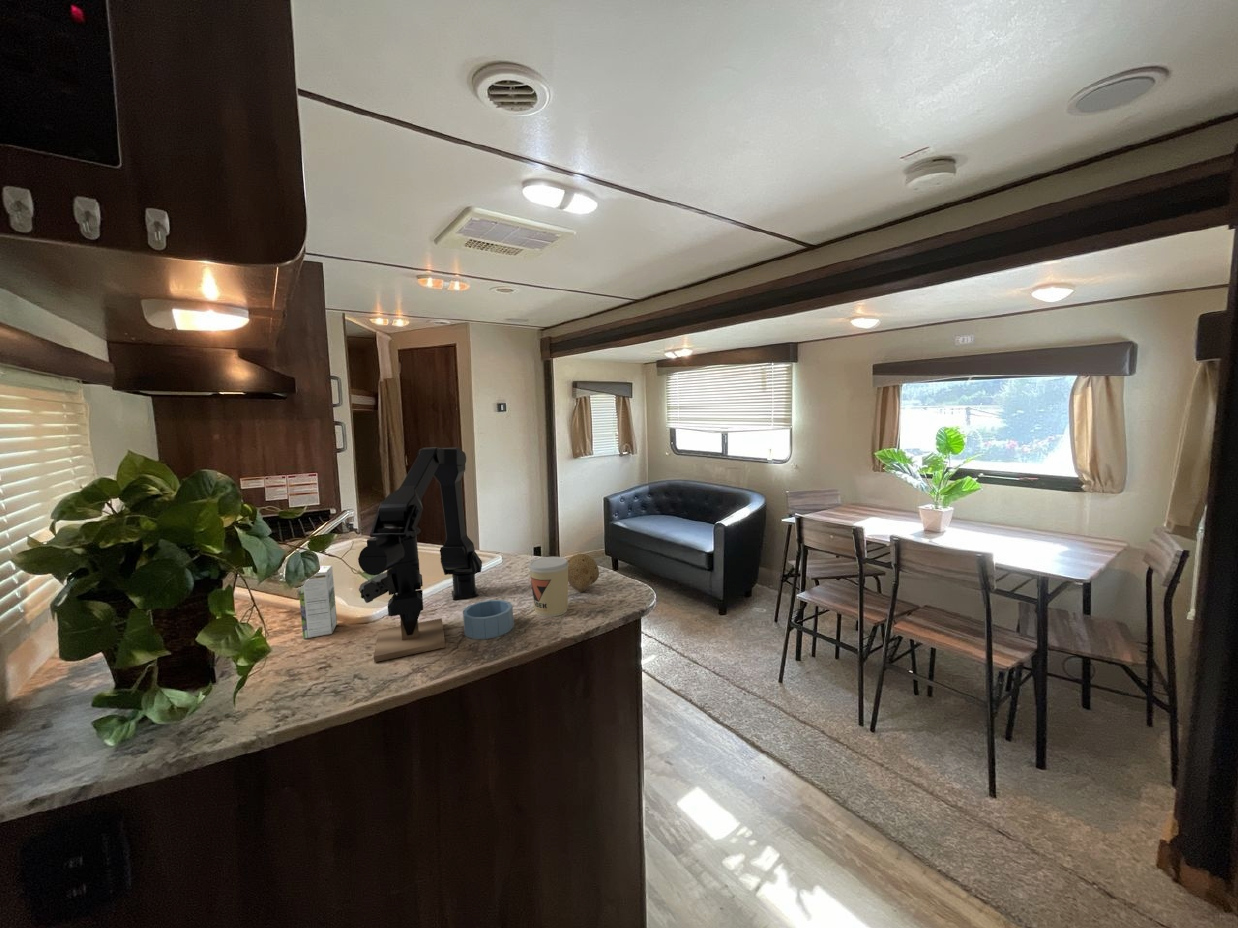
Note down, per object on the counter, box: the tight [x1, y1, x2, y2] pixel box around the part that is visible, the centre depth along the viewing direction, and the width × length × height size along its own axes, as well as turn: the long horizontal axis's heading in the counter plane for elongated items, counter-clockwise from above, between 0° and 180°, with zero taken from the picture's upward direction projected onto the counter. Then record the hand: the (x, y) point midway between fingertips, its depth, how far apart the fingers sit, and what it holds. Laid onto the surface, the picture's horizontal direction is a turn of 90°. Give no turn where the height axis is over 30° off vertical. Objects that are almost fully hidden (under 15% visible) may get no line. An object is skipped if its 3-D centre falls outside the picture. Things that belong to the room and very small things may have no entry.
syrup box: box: [298, 565, 338, 639], centre depth 108 cm, size 6×6×14 cm
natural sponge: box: [567, 553, 600, 593], centre depth 127 cm, size 9×9×10 cm
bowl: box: [462, 599, 515, 640], centre depth 106 cm, size 10×10×4 cm
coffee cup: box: [528, 556, 569, 618], centre depth 114 cm, size 9×9×12 cm
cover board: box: [373, 618, 446, 663], centre depth 101 cm, size 13×13×5 cm
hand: (410, 631), depth 101 cm, fingers closed on cover board, 3 cm apart
